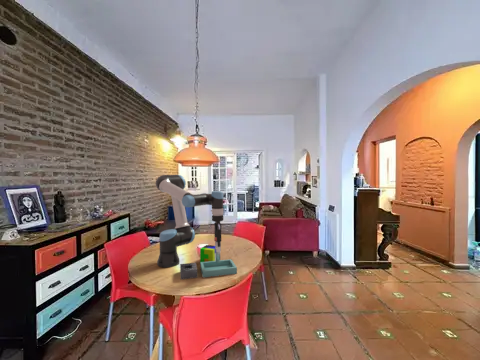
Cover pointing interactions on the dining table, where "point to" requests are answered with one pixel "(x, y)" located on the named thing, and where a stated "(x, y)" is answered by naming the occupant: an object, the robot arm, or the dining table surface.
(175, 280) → the dining table surface
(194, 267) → the block
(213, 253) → the puzzle toy
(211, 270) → the tray
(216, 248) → the pin
